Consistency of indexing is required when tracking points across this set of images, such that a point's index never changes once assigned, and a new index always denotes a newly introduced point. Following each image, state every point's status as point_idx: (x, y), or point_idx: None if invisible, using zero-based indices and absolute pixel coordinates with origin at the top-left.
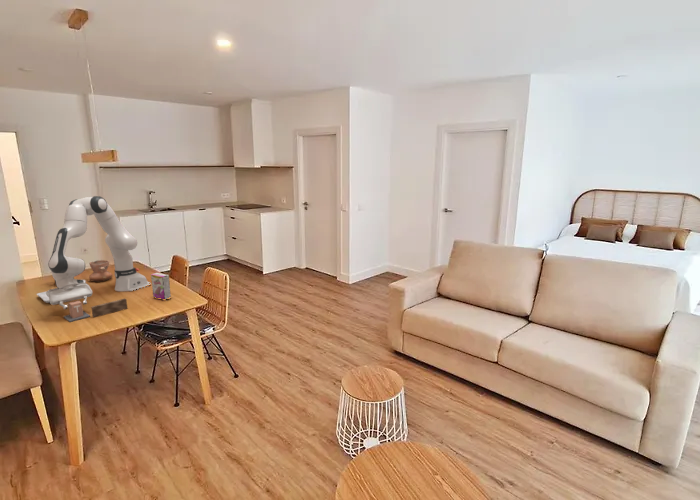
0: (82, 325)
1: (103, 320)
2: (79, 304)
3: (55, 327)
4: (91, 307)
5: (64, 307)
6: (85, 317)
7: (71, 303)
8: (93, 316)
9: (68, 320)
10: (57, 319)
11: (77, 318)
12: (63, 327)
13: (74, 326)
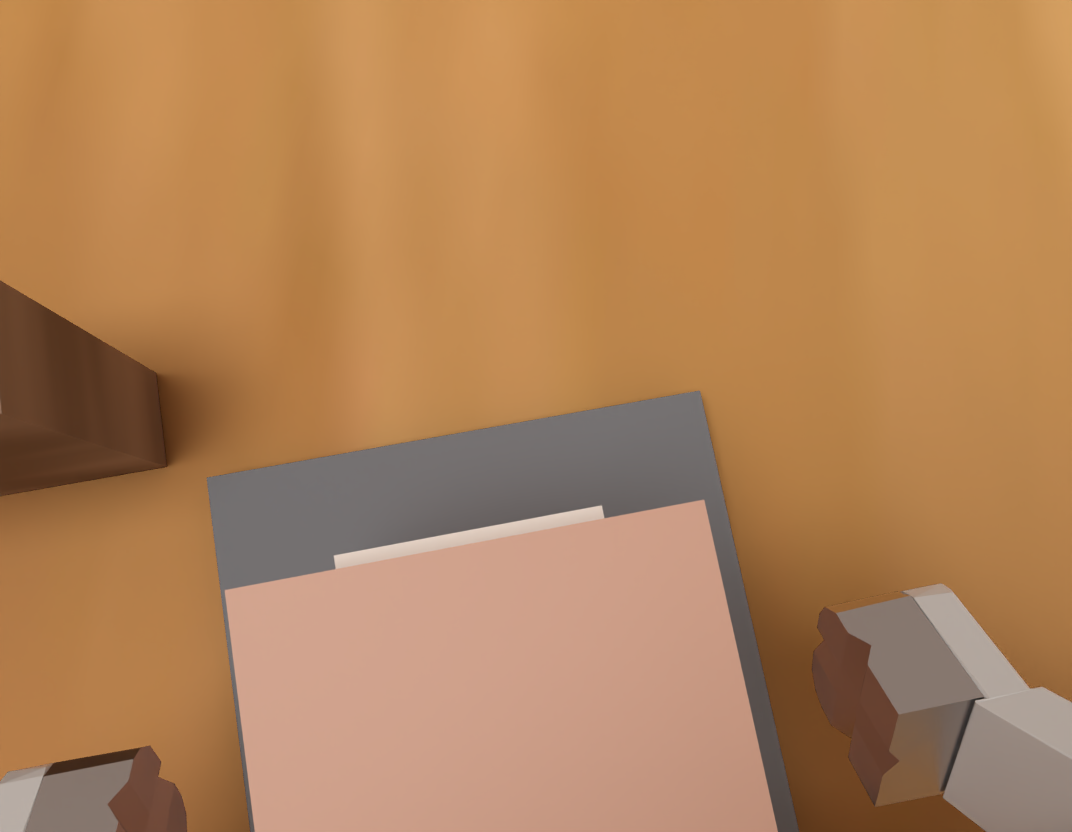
0: (479, 11)
1: (34, 23)
2: (356, 564)
3: (975, 257)
4: (18, 408)
5: (949, 591)
6: (333, 456)
7: (680, 759)
8: (152, 401)
9: (716, 484)
10: (938, 829)
11: (517, 448)
12: (829, 147)
13: (628, 59)
